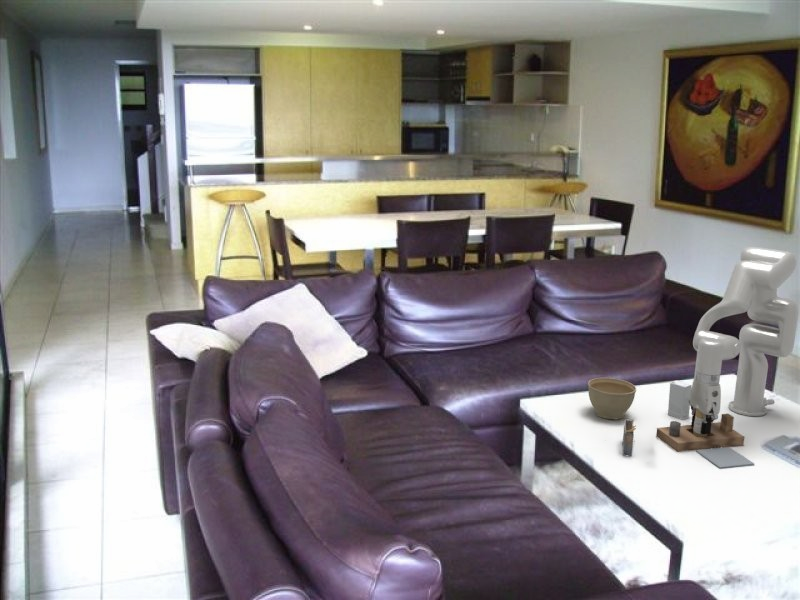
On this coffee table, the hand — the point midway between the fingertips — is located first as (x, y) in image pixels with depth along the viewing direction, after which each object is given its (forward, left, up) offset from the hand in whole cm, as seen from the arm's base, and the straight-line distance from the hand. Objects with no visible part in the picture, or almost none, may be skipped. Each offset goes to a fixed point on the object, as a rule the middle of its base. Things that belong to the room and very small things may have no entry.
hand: (700, 429), depth 255 cm
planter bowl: (+18, -26, -4) cm, 32 cm away
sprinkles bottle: (0, 0, -4) cm, 4 cm away
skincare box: (-5, -20, -4) cm, 21 cm away
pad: (0, +13, -4) cm, 14 cm away
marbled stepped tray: (+26, 0, -5) cm, 26 cm away
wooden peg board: (0, 0, -4) cm, 4 cm away
